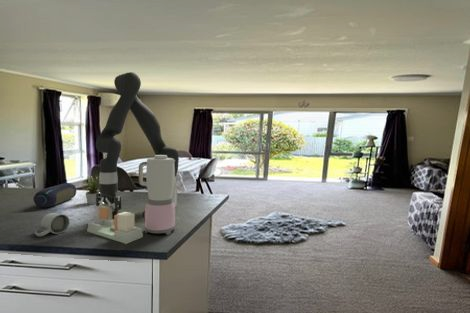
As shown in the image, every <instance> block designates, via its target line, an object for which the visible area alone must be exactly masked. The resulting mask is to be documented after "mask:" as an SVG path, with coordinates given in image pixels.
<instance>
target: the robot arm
mask: <svg viewBox="0 0 470 313" xmlns="http://www.w3.org/2000/svg"><path fill="white" fill-rule="evenodd" d="M113 81H114V87H115V89H116V91H117V93H118V94H119V99H118V100H117V101H116V103H115V104H114V106H113V108H112V109H111V111H110V113H109V115H108V118H107V121H106V123H105V126H104V128H103V129H102V130H101V132H100V134H99V135H98V136H97V139H96V142H95V148H96V150H97V151H98V152H99V153H101V154H106V155H105V156H106V157H105V158H102V159H100V161H99V176H98V181H99V182H98V185H99V189H98V192H100V193H97V194H96V204H95V206H96V207H98V208H99V207H101V206H102V205H106V204H107V205H109V207H111V209H112V219H114V216H115V215H117V214H119V211H120V210H122V196H121V195H119V196H117V193H118V188H119V187H118V186H119V185H118V182H119V181H118V178H119V177H118V161H119V159H120V158H119V157H120V155H121V154H120V153H121V151H122V144H121V141H120V140H119V138H118V137H116V136H118V135H120V134H122V131H123V128H124V126H125V123H126V119H127V116H128V114H129V111H131V113H132V115H133V117H134V119H135V120H136V121H137V123H138V126H139V127H140V129H141V130H142V132H143V134H144V135H145V137H146V139H147V141H148V142H149V144H150V145H151V146H150V147H152V150H153V153H154V154H155V155H167V158H173V159H174V160H175V162H174V167H175V180H174V188H173V194H172V201H173V203H174V206H175V208H177V207H178V188H177V173H178V171H179V161H180V160H179V159H180V158H179V156H180V155H179V152H178V150H177V149H176V148H174V147H168V146H167V145H166V143H165V141H164V139H163V137H162V134H161V125H160V122H159V121H158V119H157V116H156V115H155V113H154V112H153V111H152V109H151V108H149V107H148V106H147V105H146V104H145V103H143V102H142V100H140V99H139V97H138V93H139V91H140V89H141V86H142V85H141V84H142V82H141V79H140V77H139V75H138V74H137V73H136V72H125V73H122V74H118V75H117V76H115V79H114V80H113ZM155 155H154V156H155ZM114 206H115V208H114Z"/></svg>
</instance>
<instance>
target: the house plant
mask: <svg viewBox="0 0 470 313" xmlns="http://www.w3.org/2000/svg"><path fill="white" fill-rule="evenodd" d="M90 178H91V179H90ZM90 178H89V177H88V176H86V179H87V181H85V184H86V185H87V186H86V185H82V187H81V188H80V190H81V189H83V190H85V191H87V192H85V197H86V202H87V204H88V205H92V206H93V205H96V194H97V193H100V192H99V176H96V177H95V178H93V176H92V175H90ZM79 180H81V181H82V182H84V180H83V179H80V178H79Z"/></svg>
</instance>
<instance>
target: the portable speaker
mask: <svg viewBox="0 0 470 313" xmlns="http://www.w3.org/2000/svg"><path fill="white" fill-rule="evenodd" d="M76 194H77V187H76V186H75V185H74V183H71V182H64V183H61V184H57V185H54V186H50V187H46V188H45V187H44V188H42V189H40V190H39V191H37V192H36V193H35V194H34V196H33V202H34V204H35V205H36V206H37V207H39V208H45V209H46V208H47V209H48V208H51V207H53V206H55V205H58V204H62V203H64V202H67V201H70V200H72V199H73V198H75V197H76Z"/></svg>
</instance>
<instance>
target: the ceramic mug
mask: <svg viewBox="0 0 470 313" xmlns="http://www.w3.org/2000/svg"><path fill="white" fill-rule="evenodd" d="M69 227H70V218H69V216H68V215H67V214H65V213H58V212H49V213H47V214H45V215H44V216H43V217H42V218H41V222H40V226H39V227H38V228H36V230H35V231H34V234H35V236H36V237H38V238H39V237H43V236H46V235H48V234H49V233H52V234H54V235H58V234H63V233H64V232H66V231H67V230H68V228H69ZM43 230H44V231H43Z"/></svg>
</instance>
